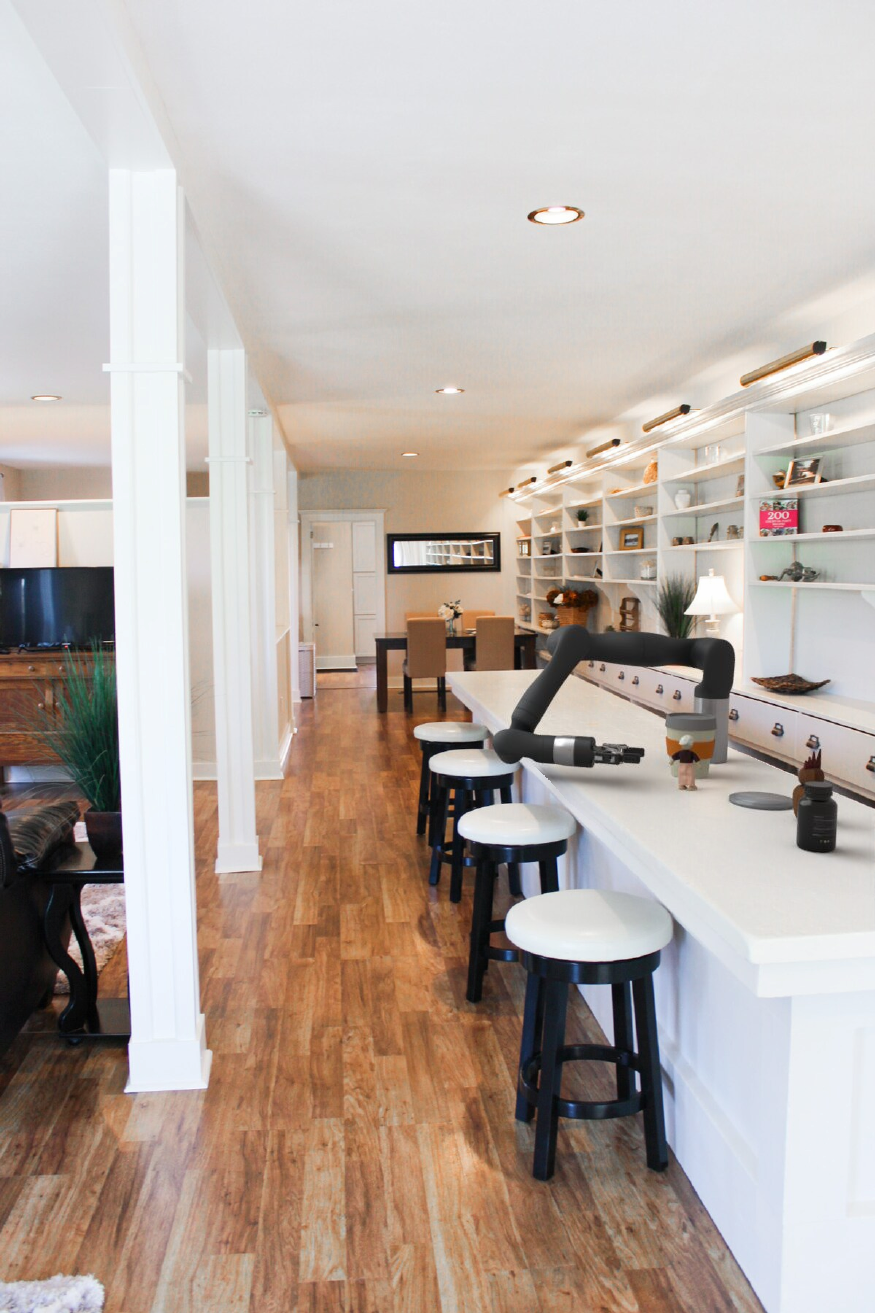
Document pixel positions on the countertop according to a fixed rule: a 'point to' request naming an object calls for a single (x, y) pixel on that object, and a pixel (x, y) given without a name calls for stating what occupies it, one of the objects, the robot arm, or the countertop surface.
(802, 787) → the wooden figurine
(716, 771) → the countertop surface
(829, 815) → the supplement bottle
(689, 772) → the grandmother figurine
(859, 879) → the countertop surface
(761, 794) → the slate coaster
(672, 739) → the reusable coffee cup
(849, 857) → the countertop surface
